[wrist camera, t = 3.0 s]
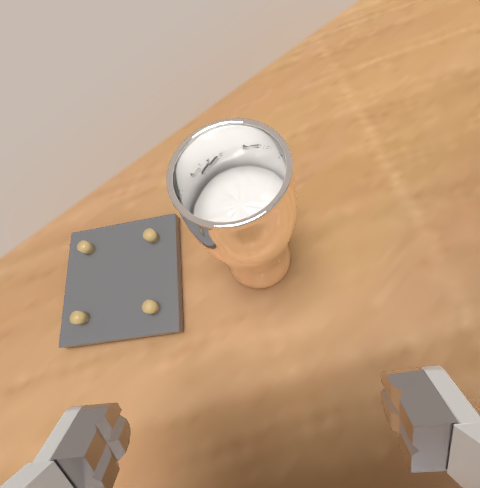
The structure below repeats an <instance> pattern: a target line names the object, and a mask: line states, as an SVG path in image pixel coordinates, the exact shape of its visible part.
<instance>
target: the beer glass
mask: <svg viewBox="0 0 480 488" xmlns="http://www.w3.org/2000/svg"><path fill="white" fill-rule="evenodd" d="M167 190H168V194H169V197H170V199H171V201H172V203H173V205H174V206H175V208H176V209H177V210H178V211H179V213H180V215H181V217H182V218H183V220H184V222H185V223H186V225H187V226H188V228H189V230H190V231H191V232H192V234H193V235H194V237H195V238H196V239H197V241H198V242H199V243H200V244H201V245H202V246H203V247H204V248H205V249H206V250H207V251H208V252H209V253H210V254H211V255H213V256H214V257H216V258H217V259H219V260H220V261H222V262H223V263H225V264H227V265H229V268H230V270H231V272H232V274H233V276H234V277H235V278H236V279H237V280H238V281H239V282H240V283H241V284H243V285H245V286H247V287H251V288H266V287H270V286H272V285H274V284H276V283H277V282H279V281H280V280H281V279H282V278H283V277H284V275H285V274H286V272H287V270H288V268H289V265H290V250H289V247H288V245H287V244H288V242H289V240H290V238H291V235H292V232H293V229H294V225H295V219H296V208H297V204H296V187H295V179H294V173H293V159H292V154H291V151H290V149H289V147H288V145H287V143H286V141H285V140H284V139H283V137H282V136H281V135H280V134H279V133H278V132H277V131H275V130H274V129H273V128H271V127H270V126H268V125H266V124H264V123H261V122H259V121H255V120H251V119H244V118H232V119H224V120H220V121H216V122H213V123H210V124H208V125H206V126H204V127H202V128H200V129H198V130H197V131H195V132H194V133H192V134H191V135H190V136H189V137H187V138H186V139H185V140H184V141H183V142H182V143H181V145H180V146H179V147H178V148H177V150H176V151H175V153H174V155H173V157H172V159H171V161H170V164H169V167H168V171H167Z"/></svg>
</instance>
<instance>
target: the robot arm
mask: <svg viewBox="0 0 480 488" xmlns="http://www.w3.org/2000/svg"><path fill="white" fill-rule="evenodd" d="M381 382H382V384H383V386H384V388H385V389H384V390H383V391H382V392H381V393H382V403H383V408H384V412H385V415H386V417H387V420H388V422H389V425H390V427H391V429H393V430H394V431H395V432H396V433H398V434H399V447H400V449H401V451H402V454H403V456H404V458H405V460H406V462H407V465H408V467H409V469H410V471H411V473H415V472H438V471H447V474H448V475H449V476H451V477H452V478H453V479H454V480H455V481H456V482H457V483H458V484H459V485H460V486H461V487H462V488H480V415H479V414H478V413H477V411H476V410H475V409H474V407H473V406H472V405H471V404H470V402H469V401H468V400H467V398H466V397H465V396H464V395H463V393H462V392H461V391H460V389H459V388H458V387H457V385H456V384H455V383H454V382H453V380H452V379H451V378H450V376H449V375H448V374H447V372H446V371H445V370H444V369H443V368H442V367H441V366H439V365H436V366H428V367H420V368H418V367H416V368H408V369H400V370H392V371H384V372H382V374H381ZM121 410H122V409H121V408H120V406H119V405H118V403H107V404H95V405H84V406H74V407H70V408H69V409H67V410H66V411H65V412H64V414H63V415H62V417H61V418H60V420H59V422H58V423H57V425H56V426H55V428H54V429H53V431H52V433H51V434H50V436H49V437H48V439H47V440H46V442H45V443H44V445H43V447H42V448H41V450H40V451H39V453H38V454H37V456H36V458H35V459H34V461H33V462H31V463H27V464H26V465H25V466H24V467H22V468H21V469H20V470H19V471H18V472H17V473H15V474H14V475H13V476H12V477H11V478H10V479H8V480H7V481H6V482H5V483H4V484H3V485H2V486H0V488H113V485H114V483H115V480H116V477H117V475H118V472H119V470H120V468H119V463H118V461H119V460H120V458H121V457H122V456H123V455H124V454H125V453H126V451H127V448H128V445H129V442H130V433H131V431H130V425H129V423H128V421H127V419H126V418H124V417H122V416H121V415H120V413H121Z"/></svg>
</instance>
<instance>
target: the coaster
mask: <svg viewBox="0 0 480 488" xmlns="http://www.w3.org/2000/svg"><path fill="white" fill-rule="evenodd" d="M181 332H184V322H183V297H182V272H181V247H180V222H179V217H178V216H177V215H176V214H170V215H165V216H160V217H154V218H149V219H144V220H138V221H133V222H128V223H122V224H117V225H112V226H106V227H101V228H96V229H90V230H85V231H80V232H74V233H72V234H71V243H70V252H69V260H68V269H67V278H66V287H65V296H64V305H63V314H62V323H61V331H60V340H59V348H71V347H78V346H86V345H93V344H100V343H108V342H115V341H122V340H129V339H137V338H144V337H151V336H159V335H166V334H173V333H181Z"/></svg>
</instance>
